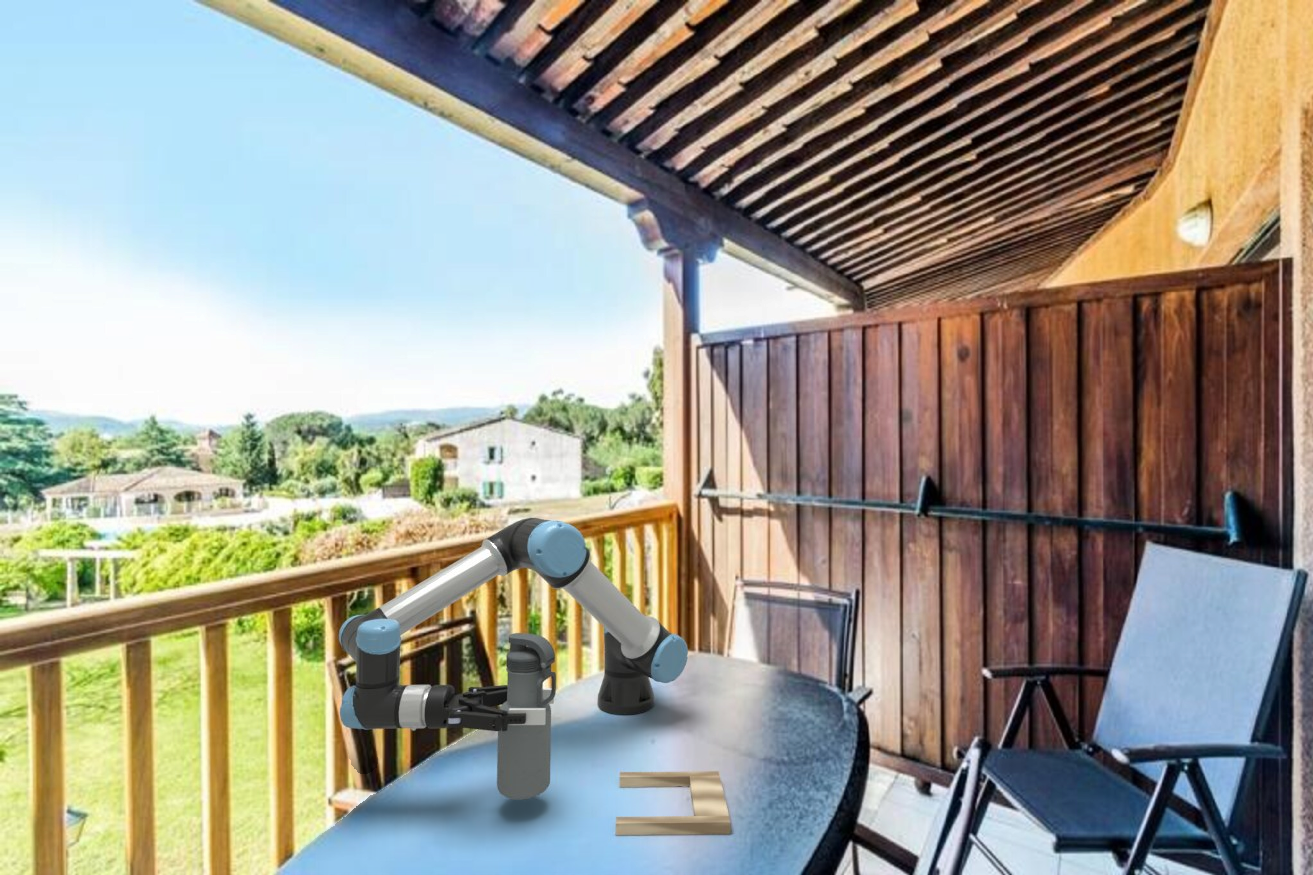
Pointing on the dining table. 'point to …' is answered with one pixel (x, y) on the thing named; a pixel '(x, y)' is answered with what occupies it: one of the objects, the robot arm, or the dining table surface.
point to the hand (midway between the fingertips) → (549, 705)
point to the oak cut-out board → (706, 817)
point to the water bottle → (526, 745)
